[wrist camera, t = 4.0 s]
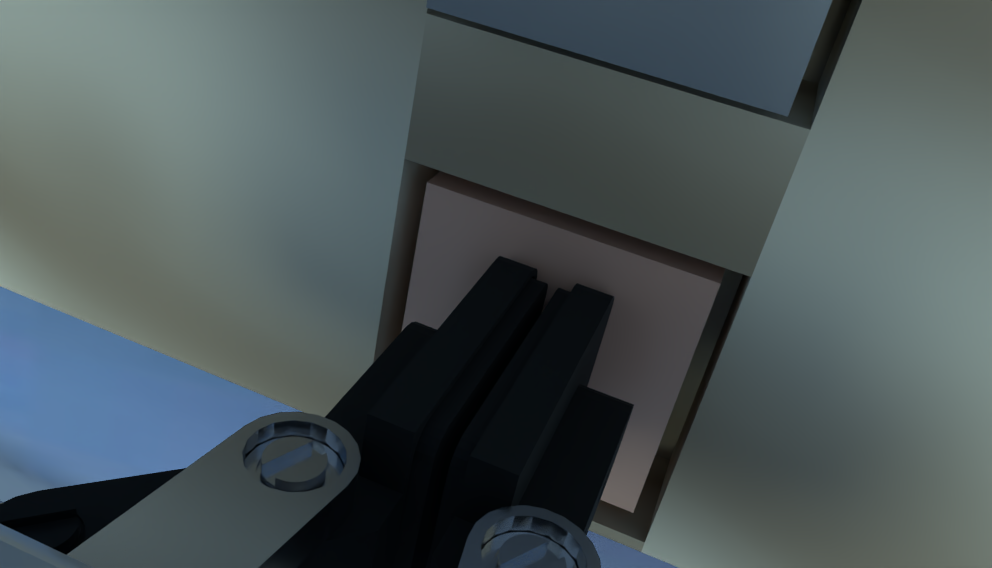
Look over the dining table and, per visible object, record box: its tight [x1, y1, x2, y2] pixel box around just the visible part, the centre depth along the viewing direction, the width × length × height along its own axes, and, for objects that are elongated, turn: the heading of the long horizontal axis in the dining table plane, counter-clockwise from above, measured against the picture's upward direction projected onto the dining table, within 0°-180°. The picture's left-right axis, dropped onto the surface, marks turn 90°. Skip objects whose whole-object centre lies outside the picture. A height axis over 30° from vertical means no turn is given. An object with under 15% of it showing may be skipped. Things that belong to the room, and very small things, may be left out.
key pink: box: [402, 171, 725, 513], centre depth 13 cm, size 4×4×2 cm
